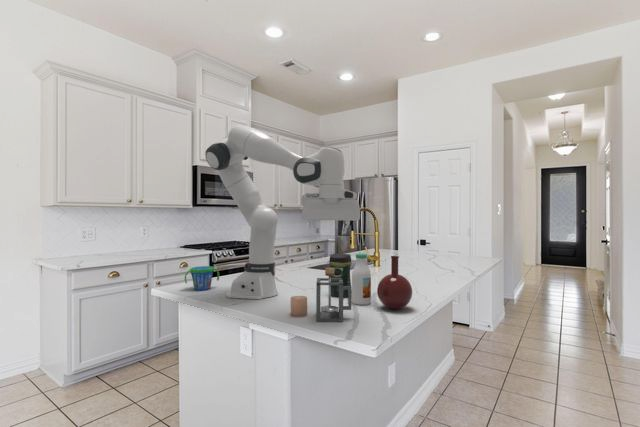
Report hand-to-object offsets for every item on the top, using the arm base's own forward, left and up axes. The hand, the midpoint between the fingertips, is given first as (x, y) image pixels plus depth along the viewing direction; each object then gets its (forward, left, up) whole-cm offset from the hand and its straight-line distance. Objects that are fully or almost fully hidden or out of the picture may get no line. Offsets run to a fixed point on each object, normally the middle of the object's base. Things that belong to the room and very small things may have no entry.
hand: (330, 233), depth 125 cm
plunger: (0, 0, -27) cm, 27 cm away
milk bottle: (+13, +21, -30) cm, 38 cm away
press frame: (+1, 0, -29) cm, 29 cm away
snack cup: (-60, +44, -30) cm, 80 cm away
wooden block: (-11, +4, -29) cm, 32 cm away
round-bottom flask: (+25, +13, -30) cm, 41 cm away
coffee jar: (+5, +34, -30) cm, 45 cm away
